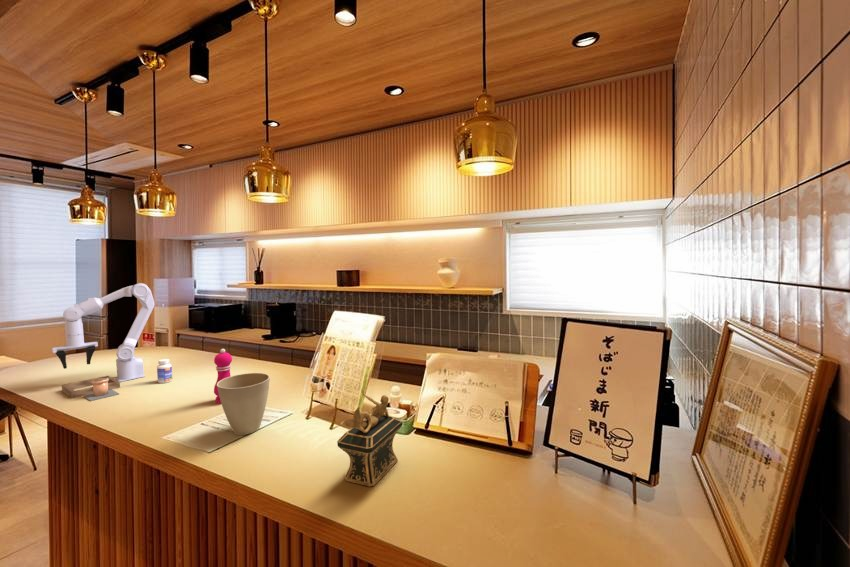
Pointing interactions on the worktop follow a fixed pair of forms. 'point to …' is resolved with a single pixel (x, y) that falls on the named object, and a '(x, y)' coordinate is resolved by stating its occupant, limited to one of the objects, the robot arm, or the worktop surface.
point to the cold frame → (78, 393)
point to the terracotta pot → (100, 386)
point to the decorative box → (370, 443)
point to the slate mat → (92, 397)
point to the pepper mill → (222, 369)
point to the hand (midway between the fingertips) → (76, 366)
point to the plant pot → (244, 400)
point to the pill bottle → (164, 371)
